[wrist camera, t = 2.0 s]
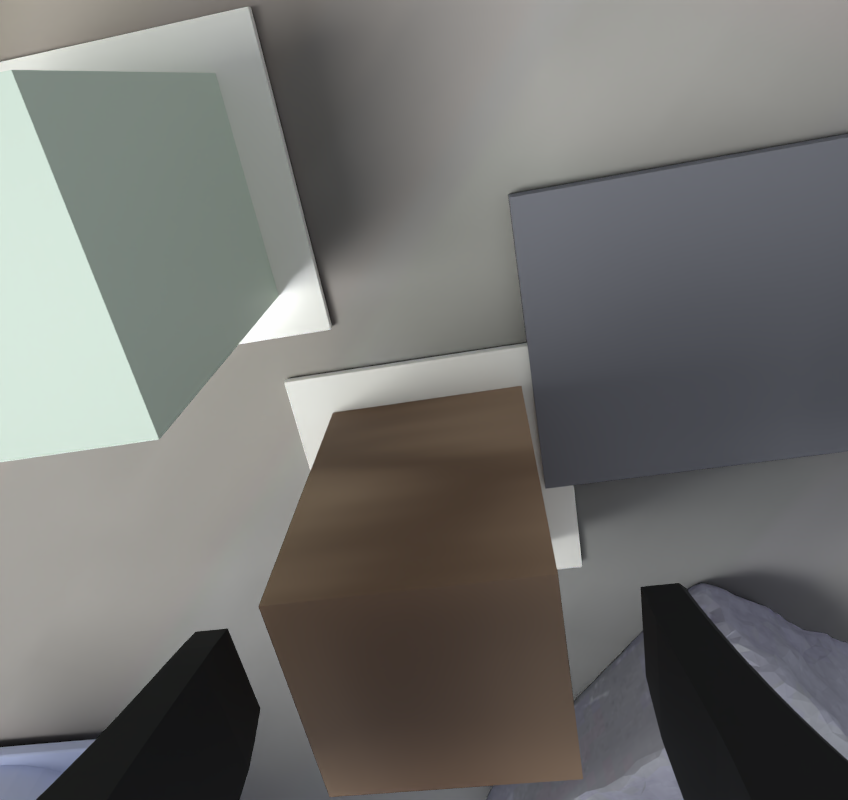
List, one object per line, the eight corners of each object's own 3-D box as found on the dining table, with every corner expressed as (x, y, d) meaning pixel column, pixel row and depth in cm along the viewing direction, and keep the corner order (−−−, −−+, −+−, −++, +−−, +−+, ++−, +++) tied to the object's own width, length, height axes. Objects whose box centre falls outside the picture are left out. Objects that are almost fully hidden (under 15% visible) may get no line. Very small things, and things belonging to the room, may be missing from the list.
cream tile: (347, 587, 19) (346, 592, 18) (286, 379, 16) (284, 382, 16) (580, 561, 18) (582, 566, 18) (557, 337, 15) (559, 341, 15)
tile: (74, 368, 16) (69, 371, 16) (-55, 75, 13) (-62, 75, 13) (331, 326, 15) (330, 329, 15) (251, 7, 13) (247, 6, 12)
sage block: (90, 327, 15) (-138, 481, 9) (4, 117, 13) (-349, 149, 8) (278, 296, 15) (159, 438, 9) (215, 72, 13) (12, 69, 7)
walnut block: (373, 561, 18) (329, 797, 12) (332, 412, 16) (258, 606, 10) (541, 542, 17) (583, 779, 11) (521, 385, 15) (558, 574, 10)
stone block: (914, 639, 21) (679, 550, 17) (1050, 799, 17) (780, 725, 13) (669, 823, 26) (450, 783, 23) (729, 979, 22) (475, 959, 19)
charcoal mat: (543, 479, 17) (545, 488, 16) (508, 194, 14) (509, 197, 13) (840, 442, 16) (849, 450, 16) (870, 129, 13) (881, 131, 13)
